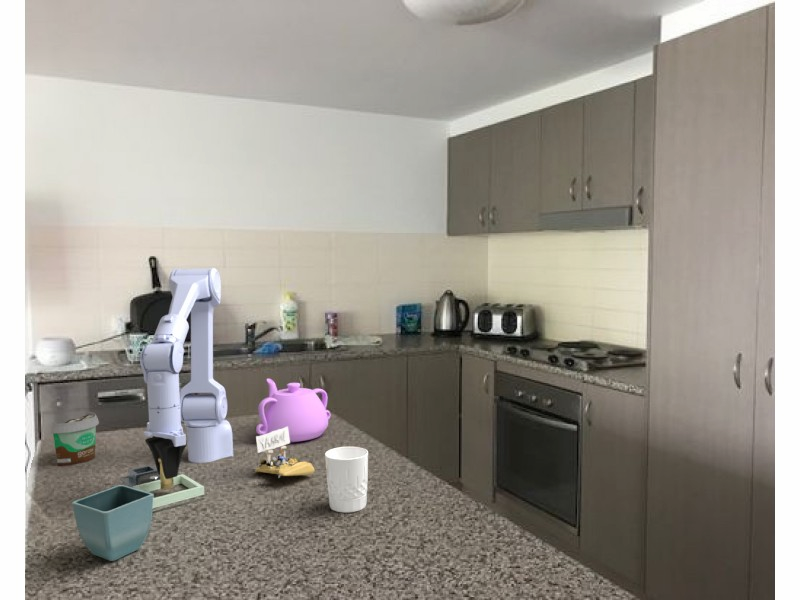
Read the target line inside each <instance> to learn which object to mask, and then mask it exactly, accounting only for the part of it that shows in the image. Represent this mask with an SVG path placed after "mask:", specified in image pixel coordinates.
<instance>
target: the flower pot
mask: <svg viewBox="0 0 800 600" xmlns="http://www.w3.org/2000/svg"><path fill="white" fill-rule="evenodd" d="M153 497H155V495H154V493H153V492H151V491H149V492H145V491H142V490H138V489H134V488H131V487H130V486H129V485H123V484H119V485H115V486H112V487H110V488H107V489H104V490H101V491H100V492H96V493H93V494H90V495H88V496H85V497H82V498H80V499H76V500H73V501H72V502H71V504H72V509H73V515H74V519H75V523H76V528H77V530H78V534H79V536H80V539H81V540H82V542H83V544H84V545H85V546H86V548H87V549H88V551H90V552H91V554H92V555H94V556H97V557H100V558H101V559H104V560H107V561H110V562H114V561H117V560H119V559H121V558H123V557H125V556H127V555H129V554H132V553H134V552H136V551H138V550H139V549H140V548H141V547H142V545H143V543H144V542H145V541H146V538H147V536H148V534H149V531H150V529H151V525H152V519H153V514H152V512H153V509H154V508H153Z"/></svg>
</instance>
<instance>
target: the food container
mask: <svg viewBox="0 0 800 600" xmlns="http://www.w3.org/2000/svg"><path fill="white" fill-rule="evenodd" d="M99 424H100V420H99V419H98V416H97V414H96V413H95V412H92V411H85V415H83V416H81V417H78V418H72V419H68V420H67V421H65V422H63V423H52V424H51V428H50V434H53V442H54V448H55V455H56V457H55V458H56V464H57V466H58V467H68V466H69V467H70V466H74V465H78V464H83V463H88V462H91V461H92V460H94V459H95V458H96V437H97V436H96V435H97V433H96V432H97V431H96V430H97V426H98V425H99ZM90 460H91V461H90Z"/></svg>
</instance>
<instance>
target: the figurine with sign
mask: <svg viewBox="0 0 800 600" xmlns="http://www.w3.org/2000/svg"><path fill="white" fill-rule="evenodd" d="M255 440H256V449H257V454H259V453H261V452H264V454H266V459H265V458H261V459H260V460H259V464H258V467H256V468H255V470H254V472H255V473H266V474H269V475H271V474H272V475H273V474H275V475H277V479H280V478H281V477H293V476H310V475H313V474H314V473H315V468H314V466H313V464H312V463H311V462H307V461H301V460H297V459H296V457H294V458H291V457H290V456H289V457H286V450H288V448H287V446H286V445H289V444H291V443H290V438H289V430H288V426H287V427H285V428H283V429H278V430H276V431H272V432H270V433H267V434H264V435H256V436H255ZM276 448H280V451H279V452H278V454H277V457H276V456H272V454H274V449H276ZM271 456H272V460H271ZM227 499H228V498H227V497H226V498H225V500H227Z"/></svg>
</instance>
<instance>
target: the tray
mask: <svg viewBox="0 0 800 600" xmlns="http://www.w3.org/2000/svg"><path fill="white" fill-rule="evenodd" d="M173 482H174V486H177V485H180V484H181V485H183V486H185V487H186V488H187V489H183V490H179V491H175V492H172V493H168V494H165V495H164V494H163V495H160V496H156V497H155V496H153V509H156V508H159V507H162V506H167V505H170V504H174V503H177V502H180V501H181V503H179V504H175V505H171V506H168V507H164V508H162V509H161V508H160V509H157V510H152V515H153V514H156V513H159V512H163V511H167V510H171V509H174V508H179V507H181V506H186V505H189V504H191V503H196V502H200V501H203V500H206V499H205V497H200V498H197V499H194V500H190V501H187V502H182V501H186V500H188V499H193V498H196V497H199V496H203V495H205V486H204V485H202V484H200V483H199V482H197V481H195V480H193V479H192V478H190V477H189V476H187V475H185V474H184V473H182V474H177V477H173ZM133 488H134V489H138V490H142V491H145V492H153V491H157V490H161V489H160V480H157V481H153V482H149V483H144V484H140V485H136V486H133Z"/></svg>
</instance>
